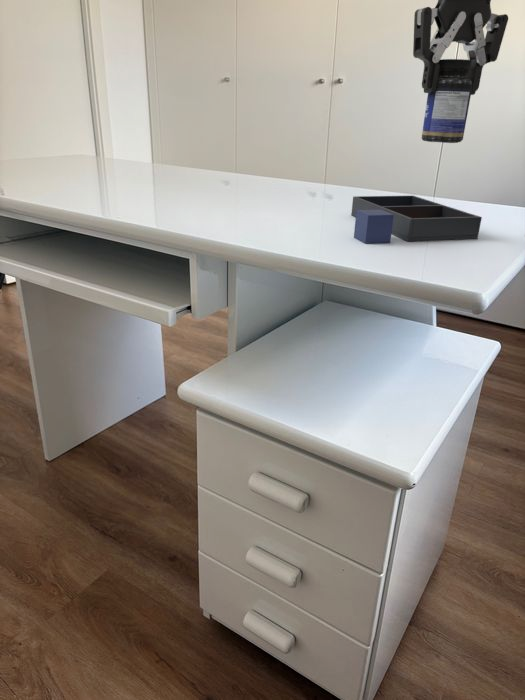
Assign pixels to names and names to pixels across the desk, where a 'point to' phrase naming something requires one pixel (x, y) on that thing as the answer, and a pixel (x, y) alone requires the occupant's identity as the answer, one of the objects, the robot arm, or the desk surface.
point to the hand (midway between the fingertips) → (449, 93)
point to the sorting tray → (421, 218)
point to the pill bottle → (448, 103)
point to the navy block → (373, 226)
